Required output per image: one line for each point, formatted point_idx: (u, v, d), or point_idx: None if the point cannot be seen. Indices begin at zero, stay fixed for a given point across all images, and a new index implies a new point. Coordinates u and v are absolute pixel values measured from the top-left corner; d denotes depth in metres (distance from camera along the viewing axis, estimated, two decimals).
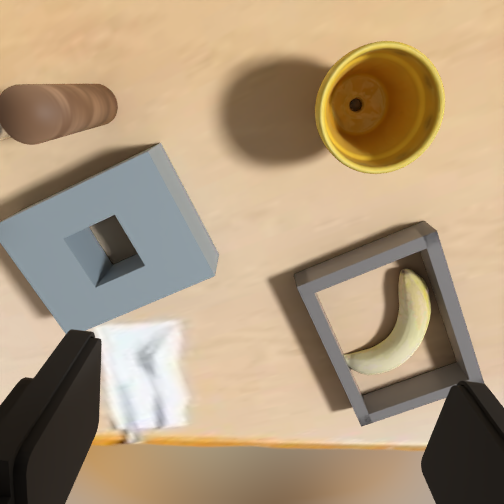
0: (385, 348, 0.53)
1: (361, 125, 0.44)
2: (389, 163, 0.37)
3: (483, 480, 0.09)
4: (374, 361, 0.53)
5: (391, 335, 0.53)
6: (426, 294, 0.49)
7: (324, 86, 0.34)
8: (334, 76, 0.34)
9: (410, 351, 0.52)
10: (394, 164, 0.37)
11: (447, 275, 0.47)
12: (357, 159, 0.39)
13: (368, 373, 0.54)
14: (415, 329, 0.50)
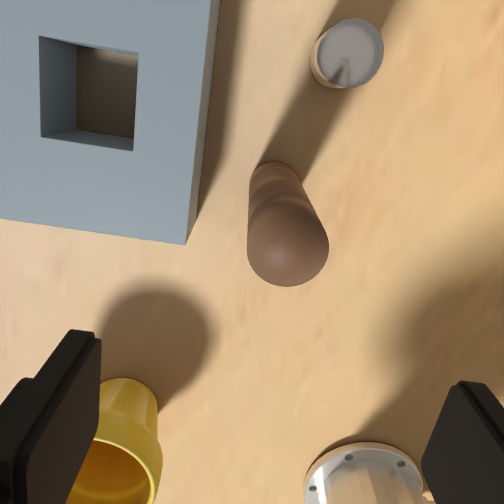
0: None
1: None
2: None
3: (483, 480, 0.09)
4: None
5: None
6: None
7: (140, 456, 0.33)
8: (144, 467, 0.33)
9: None
10: None
11: None
12: None
13: None
14: None
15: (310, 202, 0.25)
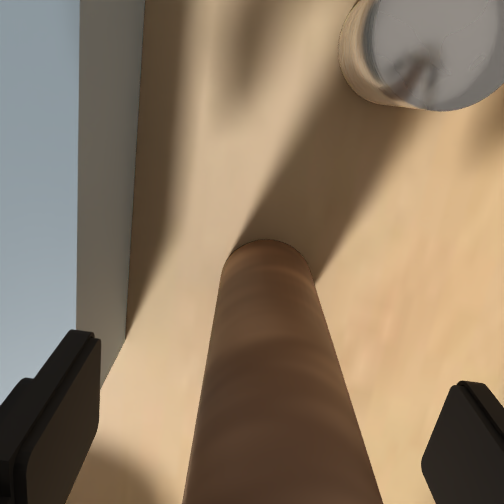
0: None
1: None
2: None
3: (483, 480, 0.09)
4: None
5: None
6: None
7: None
8: None
9: None
10: None
11: None
12: None
13: None
14: None
15: (357, 428, 0.09)
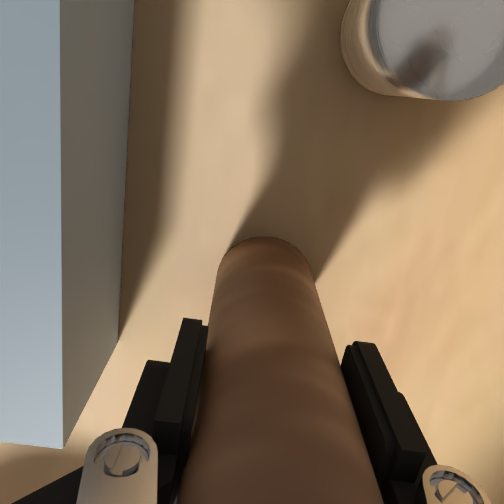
0: None
1: None
2: None
3: None
4: None
5: None
6: None
7: None
8: None
9: None
10: None
11: None
12: None
13: None
14: None
15: (362, 444, 0.09)
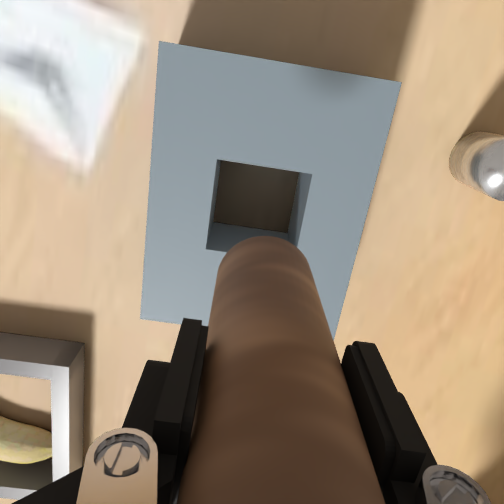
0: None
1: None
2: None
3: None
4: None
5: None
6: None
7: None
8: None
9: None
10: None
11: (8, 496, 0.40)
12: None
13: None
14: None
15: (363, 443, 0.09)
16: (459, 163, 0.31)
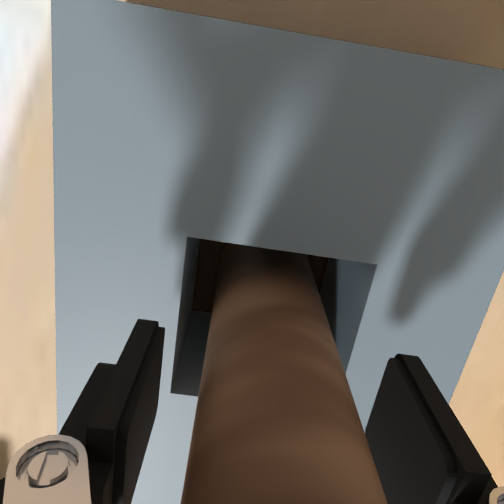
0: None
1: None
2: None
3: (407, 441, 0.10)
4: None
5: None
6: None
7: None
8: None
9: None
10: None
11: None
12: None
13: None
14: None
15: (345, 381, 0.10)
16: None
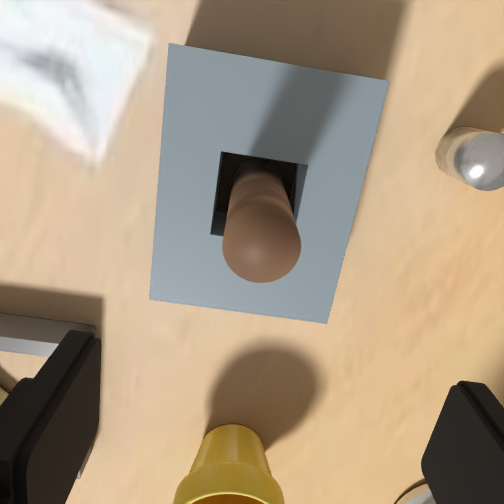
0: None
1: None
2: None
3: (483, 480, 0.09)
4: None
5: None
6: None
7: None
8: None
9: None
10: None
11: None
12: None
13: None
14: None
15: (287, 200, 0.26)
16: (444, 156, 0.33)
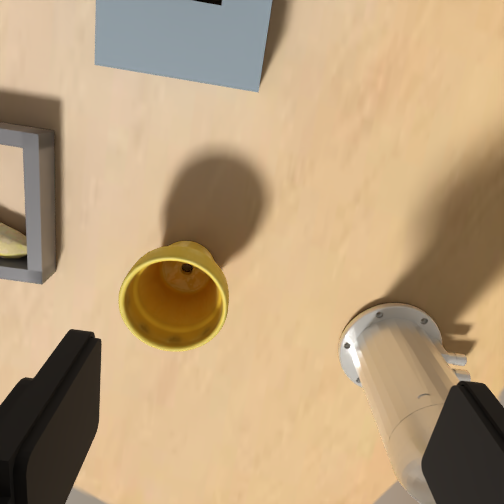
0: None
1: (168, 264, 0.48)
2: (127, 290, 0.41)
3: (483, 480, 0.09)
4: None
5: None
6: None
7: (216, 277, 0.40)
8: (219, 288, 0.40)
9: None
10: (125, 295, 0.40)
11: None
12: None
13: None
14: None
15: None
16: None
